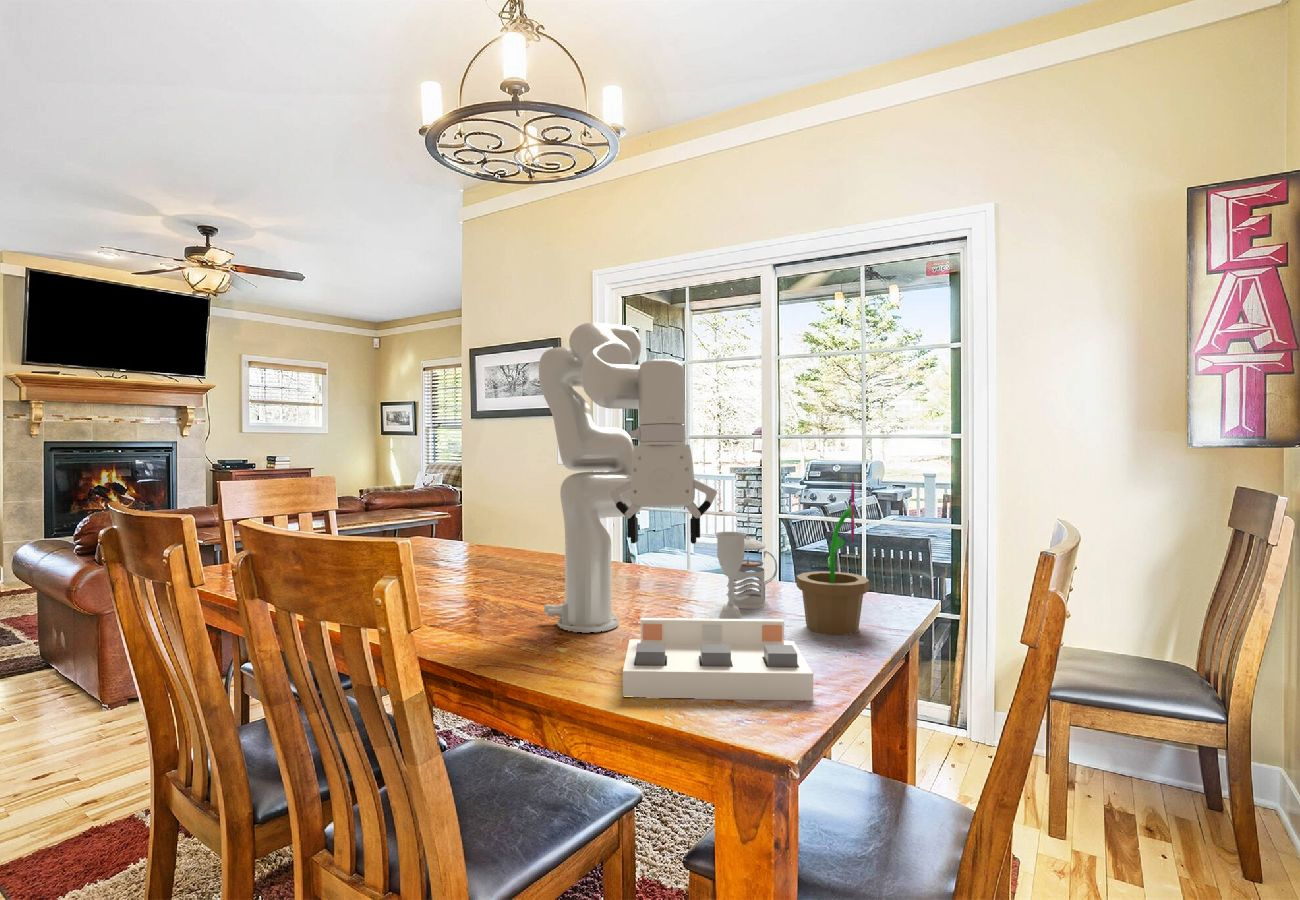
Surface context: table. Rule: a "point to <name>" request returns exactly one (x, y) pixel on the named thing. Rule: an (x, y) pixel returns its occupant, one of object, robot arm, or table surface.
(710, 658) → the button middle
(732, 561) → the chalice
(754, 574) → the french press
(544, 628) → the table surface
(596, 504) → the robot arm
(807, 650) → the table surface
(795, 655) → the button right
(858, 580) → the flowerpot
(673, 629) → the button board
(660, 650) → the button left
